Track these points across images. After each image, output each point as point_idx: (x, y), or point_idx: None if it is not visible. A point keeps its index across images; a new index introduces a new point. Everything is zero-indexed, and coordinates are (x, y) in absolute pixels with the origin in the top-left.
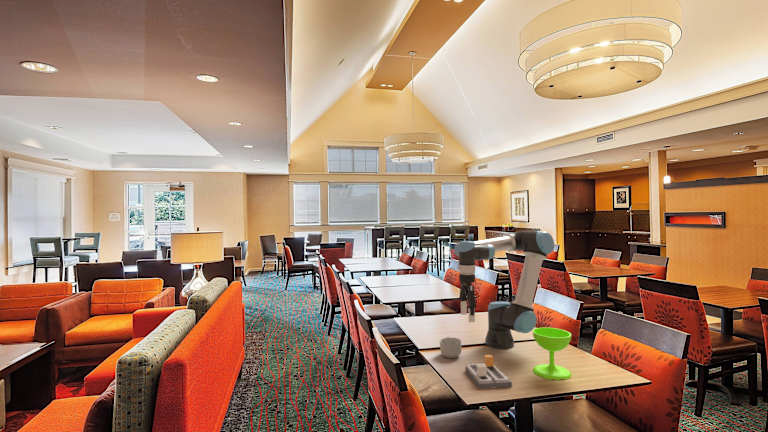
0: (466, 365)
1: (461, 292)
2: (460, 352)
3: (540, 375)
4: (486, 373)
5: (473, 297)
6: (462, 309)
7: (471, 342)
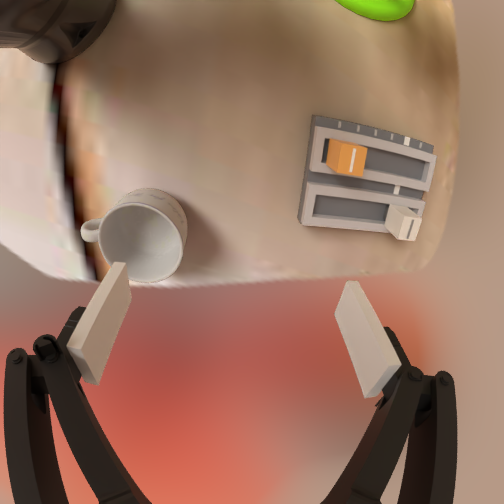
0: (308, 224)
1: (53, 452)
2: (172, 198)
3: (388, 19)
4: (411, 210)
5: (446, 457)
6: (117, 321)
7: (37, 111)
